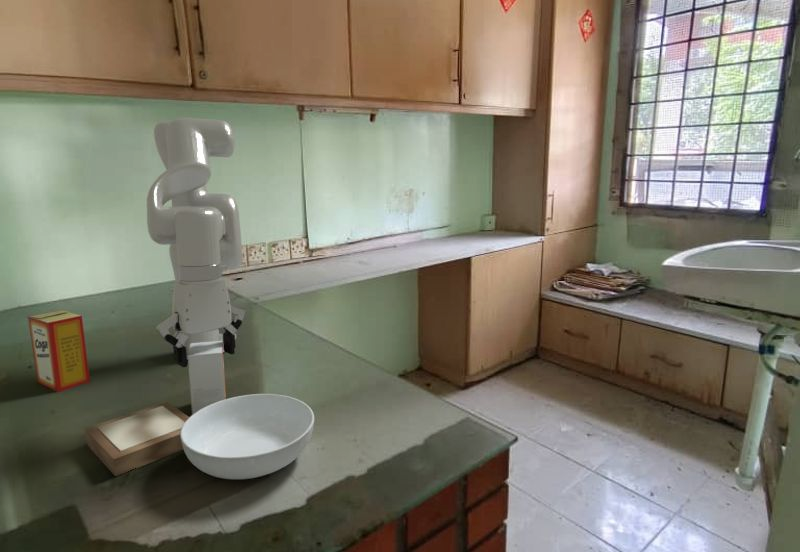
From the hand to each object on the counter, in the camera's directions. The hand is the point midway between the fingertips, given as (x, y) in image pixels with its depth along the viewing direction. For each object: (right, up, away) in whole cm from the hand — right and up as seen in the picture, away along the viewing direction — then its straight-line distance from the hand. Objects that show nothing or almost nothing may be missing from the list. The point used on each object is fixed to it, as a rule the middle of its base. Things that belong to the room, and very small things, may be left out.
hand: (206, 358), depth 94 cm
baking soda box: (-39, -8, +15) cm, 42 cm away
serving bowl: (+13, -14, -14) cm, 24 cm away
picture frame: (-7, -13, -10) cm, 18 cm away
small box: (0, -11, +3) cm, 11 cm away
